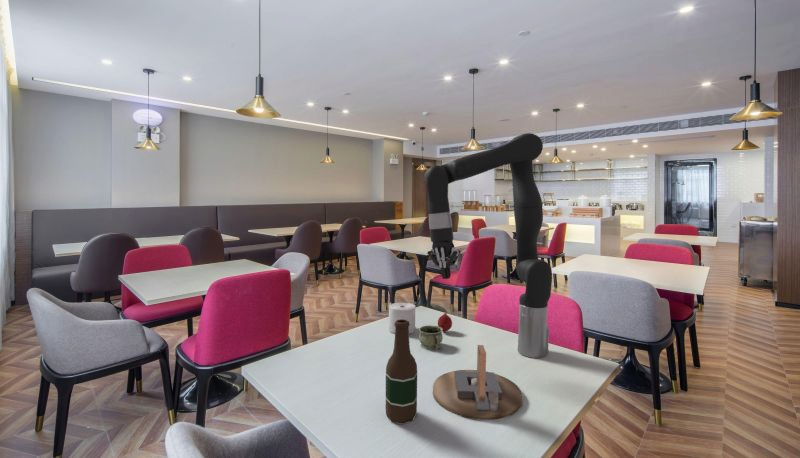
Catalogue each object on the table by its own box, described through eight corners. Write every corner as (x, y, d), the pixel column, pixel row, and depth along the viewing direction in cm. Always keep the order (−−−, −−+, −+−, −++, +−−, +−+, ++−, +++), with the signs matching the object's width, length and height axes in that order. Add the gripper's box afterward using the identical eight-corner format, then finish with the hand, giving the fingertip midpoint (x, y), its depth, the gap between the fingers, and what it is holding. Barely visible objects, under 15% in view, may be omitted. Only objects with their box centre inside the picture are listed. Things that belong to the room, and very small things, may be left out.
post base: (490, 369, 121) (490, 352, 120) (541, 409, 98) (542, 389, 97) (419, 381, 113) (419, 363, 112) (457, 427, 90) (458, 405, 90)
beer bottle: (384, 407, 98) (385, 316, 97) (414, 406, 99) (415, 315, 97) (386, 425, 91) (386, 326, 89) (418, 424, 91) (420, 326, 89)
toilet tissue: (410, 336, 149) (411, 311, 148) (382, 332, 153) (382, 308, 152) (418, 327, 159) (418, 303, 158) (391, 324, 163) (391, 301, 162)
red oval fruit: (451, 335, 150) (451, 315, 150) (436, 334, 152) (437, 314, 151) (452, 330, 156) (452, 311, 155) (438, 329, 157) (438, 310, 157)
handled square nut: (454, 377, 111) (455, 330, 110) (493, 379, 110) (495, 331, 109) (459, 409, 95) (460, 354, 93) (506, 411, 94) (508, 356, 93)
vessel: (449, 349, 136) (449, 332, 136) (427, 353, 133) (427, 336, 132) (433, 338, 147) (433, 322, 147) (412, 341, 144) (412, 325, 143)
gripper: (418, 229, 129) (424, 279, 130) (448, 226, 119) (454, 281, 120) (433, 226, 134) (439, 275, 135) (463, 224, 124) (469, 277, 125)
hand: (446, 278), depth 127 cm, fingers closed
